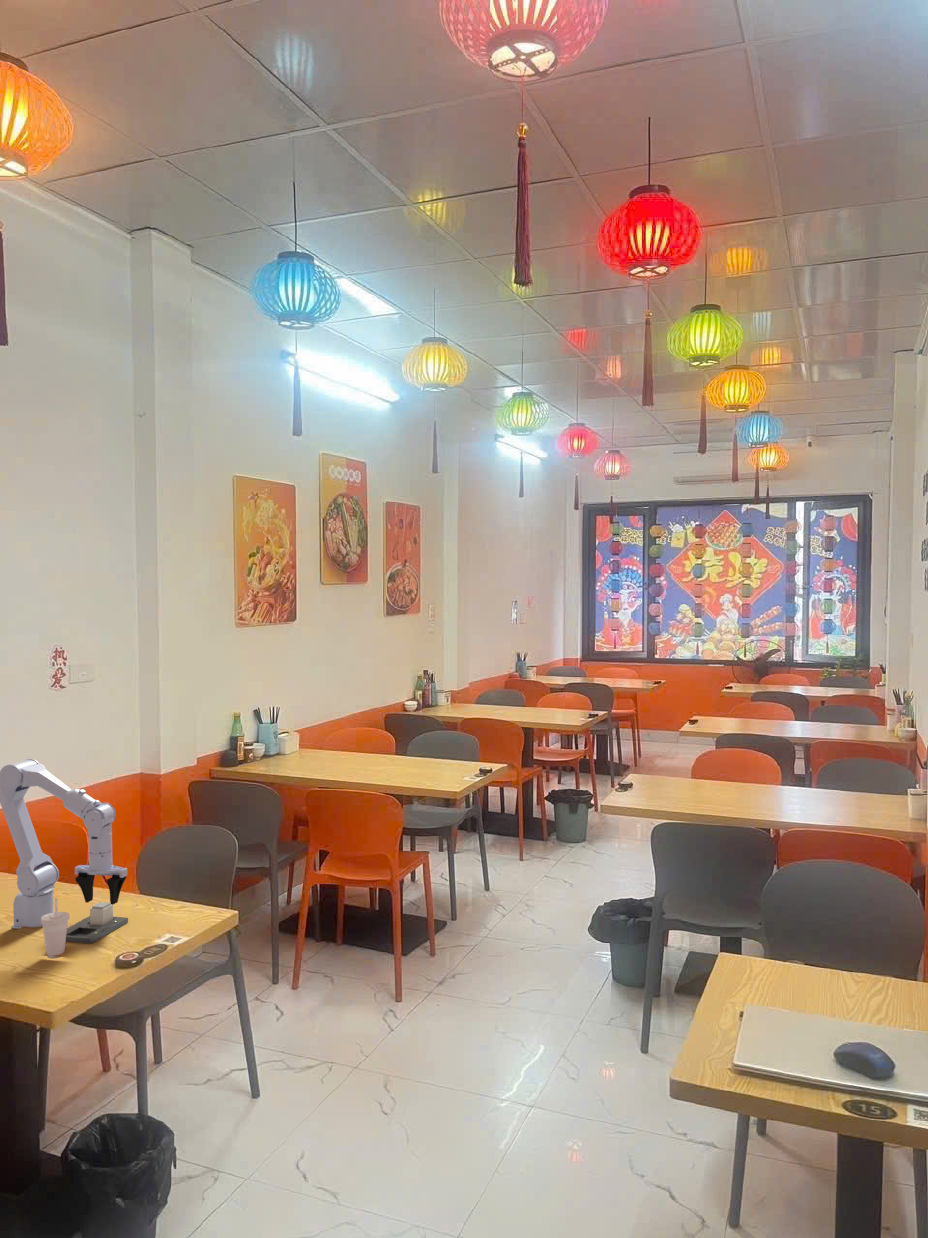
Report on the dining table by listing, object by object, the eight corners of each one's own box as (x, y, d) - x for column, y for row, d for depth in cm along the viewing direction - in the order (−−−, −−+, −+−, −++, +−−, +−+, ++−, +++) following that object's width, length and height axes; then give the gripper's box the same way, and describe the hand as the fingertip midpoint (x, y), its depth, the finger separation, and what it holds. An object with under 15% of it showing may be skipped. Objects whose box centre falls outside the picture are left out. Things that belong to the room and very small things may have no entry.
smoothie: (51, 963, 209) (50, 904, 208) (35, 957, 212) (34, 900, 212) (75, 953, 214) (74, 897, 214) (59, 948, 217) (59, 892, 217)
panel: (53, 943, 221) (53, 934, 221) (92, 922, 235) (91, 914, 235) (91, 947, 218) (91, 938, 218) (128, 925, 233) (128, 917, 233)
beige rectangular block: (90, 927, 229) (89, 906, 229) (99, 922, 233) (99, 901, 233) (103, 928, 228) (103, 908, 228) (113, 923, 232) (112, 902, 232)
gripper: (66, 854, 228) (67, 905, 228) (115, 857, 225) (116, 909, 225) (84, 846, 235) (85, 896, 235) (131, 849, 232) (132, 900, 232)
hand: (101, 902), depth 230 cm, fingers open, 7 cm apart
